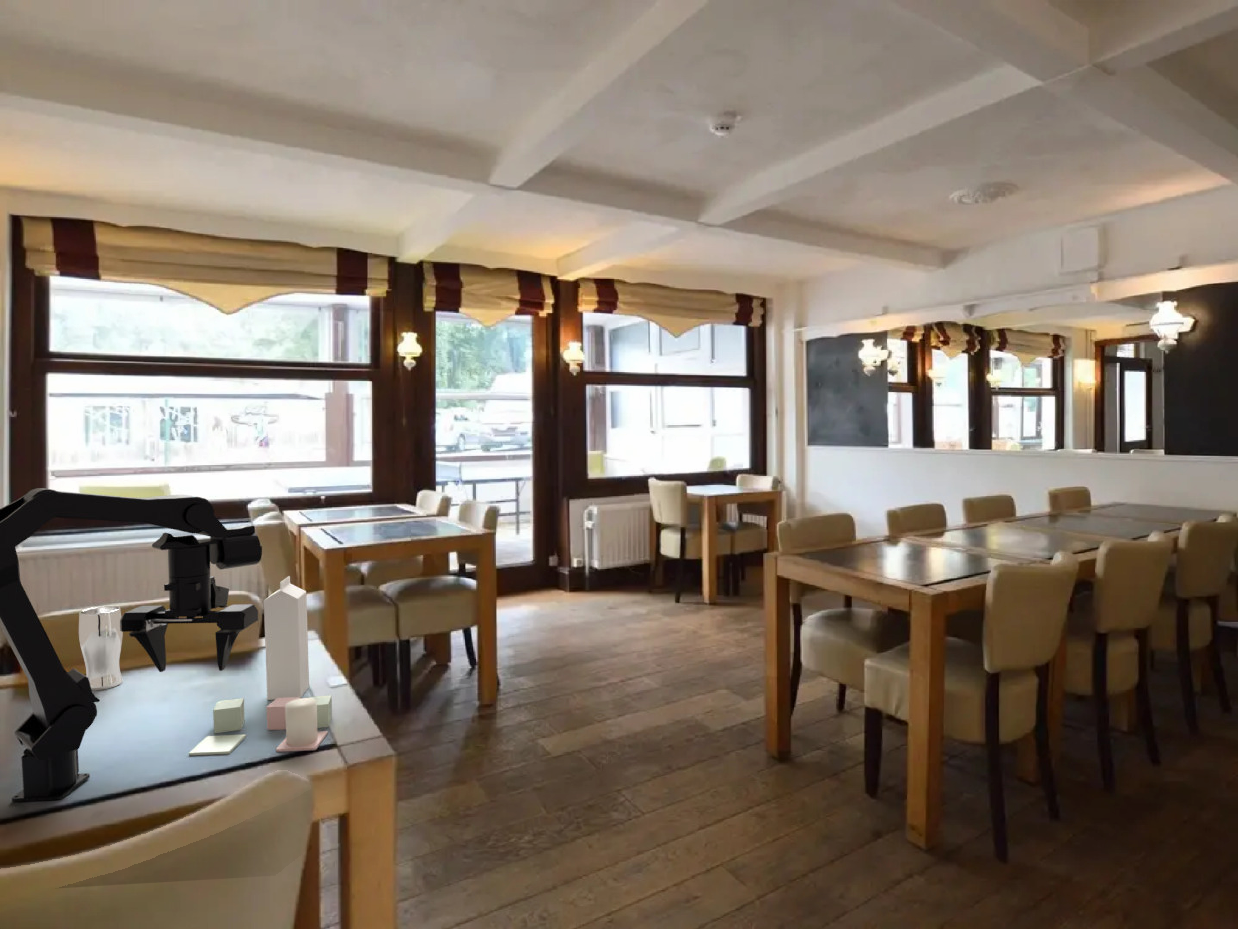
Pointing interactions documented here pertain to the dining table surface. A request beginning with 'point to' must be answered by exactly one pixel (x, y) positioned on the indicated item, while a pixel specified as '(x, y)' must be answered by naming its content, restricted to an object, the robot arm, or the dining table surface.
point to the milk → (286, 642)
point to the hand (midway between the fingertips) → (192, 670)
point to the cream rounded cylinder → (301, 722)
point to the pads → (229, 742)
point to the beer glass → (101, 645)
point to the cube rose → (278, 713)
